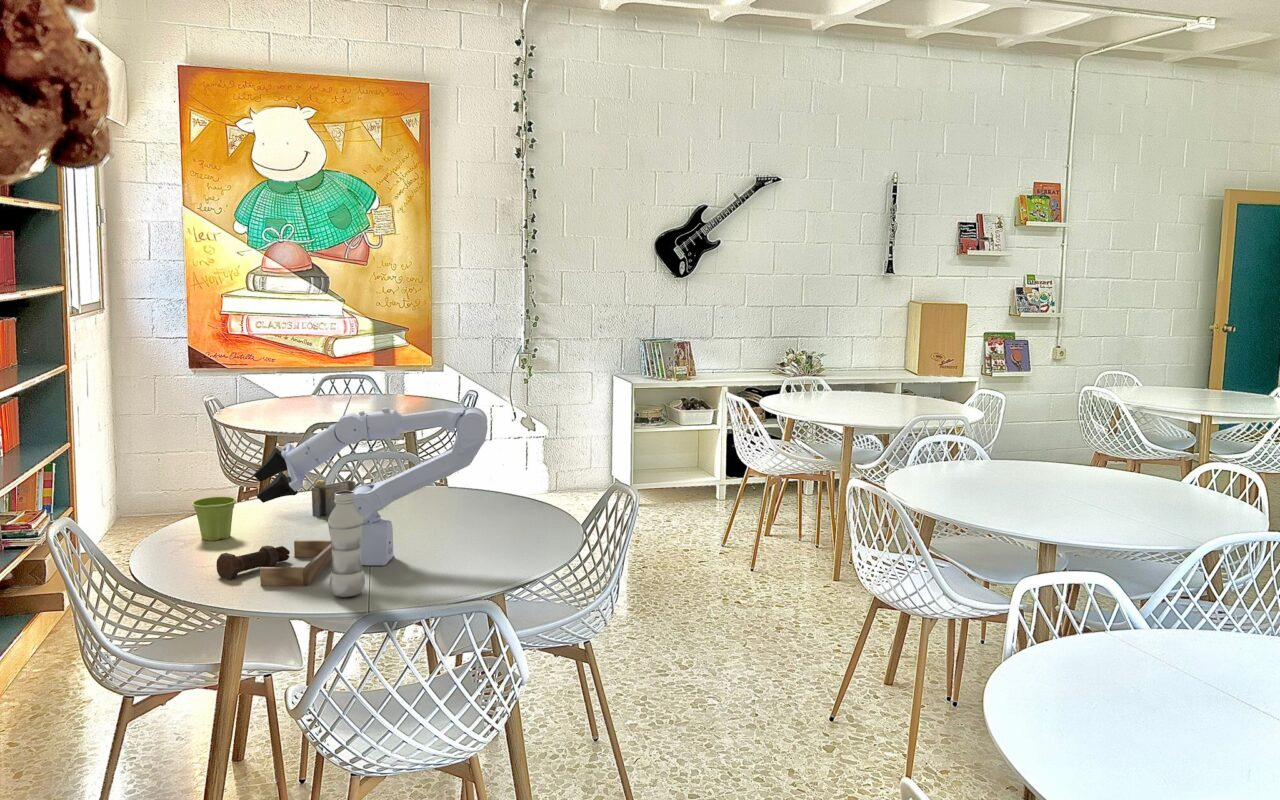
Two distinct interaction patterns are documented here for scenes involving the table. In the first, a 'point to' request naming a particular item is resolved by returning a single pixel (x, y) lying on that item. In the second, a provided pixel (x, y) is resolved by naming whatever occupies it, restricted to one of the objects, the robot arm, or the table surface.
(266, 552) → the bolt
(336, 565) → the plastic bottle
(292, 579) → the frame
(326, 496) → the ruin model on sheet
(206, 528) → the plant pot
